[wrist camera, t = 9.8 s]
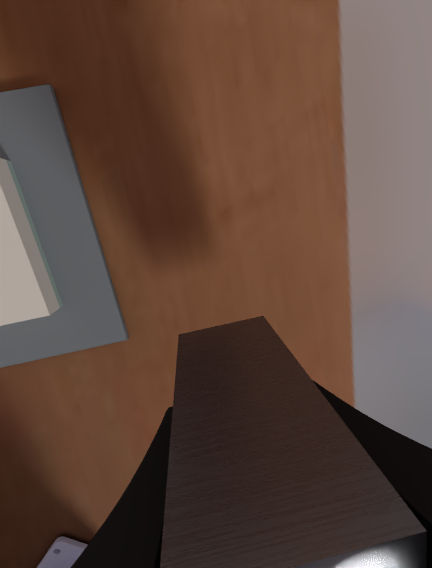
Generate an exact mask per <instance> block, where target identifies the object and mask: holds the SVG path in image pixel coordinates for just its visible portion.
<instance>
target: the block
mask: <svg viewBox="0 0 432 568" xmlns="http://www.w3.org/2000/svg"><path fill="white" fill-rule="evenodd" d="M426 559H427V531H426V530H425V528H424V527H423V526H422V524H421V523H420V522H419V520H418V519H417V518H416V517H415V515H414V514H413V513H412V511H411V510H410V509H409V507H408V506H407V505H406V503H405V502H404V501H403V499H402V498H401V497H400V495H399V494H398V493H397V491H396V490H395V489H394V488H393V486H392V485H391V484H390V482H389V481H388V480H387V478H386V477H385V476H384V474H383V473H382V472H381V470H380V469H379V468H378V466H377V465H376V464H375V462H374V461H373V460H372V459H371V457H370V456H369V455H368V453H367V452H366V451H365V449H364V448H363V447H362V445H361V444H360V443H359V441H358V440H357V439H356V437H355V436H354V435H353V434H352V432H351V431H350V430H349V428H348V427H347V426H346V424H345V423H344V422H343V420H342V419H341V418H340V416H339V415H338V414H337V412H336V411H335V410H334V408H333V407H332V406H331V405H330V403H329V402H328V401H327V399H326V398H325V397H324V395H323V394H322V393H321V391H320V390H319V389H318V387H317V386H316V385H315V383H314V382H313V381H312V379H311V378H310V377H309V376H308V374H307V373H306V372H305V370H304V369H303V368H302V366H301V365H300V364H299V362H298V361H297V360H296V358H295V357H294V356H293V354H292V353H291V352H290V351H289V349H288V348H287V347H286V345H285V344H284V343H283V341H282V340H281V339H280V337H279V336H278V335H277V333H276V332H275V331H274V329H273V328H272V327H271V325H270V324H269V323H268V322H267V320H266V319H265V318H264V316H260V317H256V318H251V319H247V320H242V321H238V322H233V323H229V324H224V325H220V326H215V327H211V328H206V329H202V330H197V331H192V332H188V333H183V334H179V338H178V351H177V363H176V375H175V388H174V400H173V412H172V425H171V437H170V450H169V462H168V474H167V487H166V499H165V511H164V524H163V536H162V548H161V561H160V568H426Z"/></svg>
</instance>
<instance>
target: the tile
mask: <svg viewBox="0 0 432 568" xmlns="http://www.w3.org/2000/svg"><path fill="white" fill-rule="evenodd" d="M62 306H63V304H62V301H61V298H60V296H59V293H58V290H57V287H56V284H55V282H54V279H53V276H52V273H51V271H50V268H49V265H48V262H47V260H46V257H45V254H44V251H43V249H42V246H41V243H40V240H39V238H38V235H37V232H36V229H35V226H34V224H33V221H32V218H31V215H30V213H29V210H28V207H27V204H26V202H25V199H24V196H23V193H22V191H21V188H20V185H19V182H18V180H17V177H16V174H15V171H14V168H13V166H12V163H11V161H9V160H5V159H2V158H0V326H2V325H7V324H11V323H16V322H21V321H26V320H30V319H35V318H40V317H44V316H49V315H51V314H52V313H54V312H55V311H57V310H58V309H59V308H61V307H62Z"/></svg>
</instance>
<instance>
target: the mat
mask: <svg viewBox="0 0 432 568" xmlns="http://www.w3.org/2000/svg"><path fill="white" fill-rule="evenodd" d="M0 158H2V159H5V160H9V161H11V163H12V166H13V168H14V171H15V174H16V177H17V180H18V182H19V185H20V188H21V191H22V193H23V196H24V199H25V202H26V204H27V207H28V210H29V213H30V215H31V218H32V221H33V224H34V226H35V229H36V232H37V235H38V238H39V240H40V243H41V246H42V249H43V251H44V254H45V257H46V260H47V262H48V265H49V268H50V271H51V273H52V276H53V279H54V282H55V284H56V287H57V290H58V293H59V296H60V298H61V301H62V304H63V306H62V307H61V308H59V309H58V310H57V311H55V312H54V313H52V314H51V315H49V316H44V317H40V318H35V319H30V320H26V321H21V322H16V323H11V324H7V325H2V326H0V368H1V367H6V366H10V365H15V364H19V363H24V362H28V361H33V360H38V359H42V358H47V357H51V356H56V355H60V354H65V353H69V352H74V351H79V350H83V349H88V348H92V347H97V346H101V345H106V344H110V343H115V342H119V341H124V340H128V338H129V336H128V332H127V329H126V326H125V323H124V319H123V316H122V313H121V309H120V306H119V303H118V300H117V296H116V293H115V290H114V286H113V283H112V280H111V276H110V273H109V270H108V267H107V263H106V260H105V257H104V253H103V250H102V247H101V244H100V240H99V237H98V234H97V230H96V227H95V224H94V221H93V217H92V214H91V211H90V207H89V204H88V201H87V197H86V194H85V191H84V188H83V184H82V181H81V178H80V174H79V171H78V168H77V165H76V161H75V158H74V155H73V151H72V148H71V145H70V142H69V138H68V135H67V132H66V128H65V125H64V122H63V118H62V115H61V112H60V109H59V105H58V102H57V99H56V95H55V92H54V89H53V87H52V86H51V85H50V84H47V85H41V86H35V87H29V88H23V89H17V90H11V91H6V92H0Z"/></svg>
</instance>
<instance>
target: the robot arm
mask: <svg viewBox="0 0 432 568" xmlns="http://www.w3.org/2000/svg"><path fill="white" fill-rule="evenodd" d="M312 381H313V380H312ZM313 382H314V383H315V385H316V386H317V387H318V389H319V390H320V391H321V393H322V394H323V395H324V397H325V398H326V399H327V401H328V402H329V403H330V405H331V406H332V407H333V408H334V410H335V411H336V412H337V414H338V415H339V416H340V418H341V419H342V420H343V422H344V423H345V424H346V426H347V427H348V428H349V430H350V431H351V432H352V434H353V435H354V436H355V437H356V439H357V440H358V441H359V443H360V444H361V445H362V447H363V448H364V449H365V451H366V452H367V453H368V455H369V456H370V457H371V459H372V460H373V461H374V462H375V464H376V465H377V466H378V468H379V469H380V470H381V472H382V473H383V474H384V476H385V477H386V478H387V480H388V481H389V482H390V484H391V485H392V486H393V488H394V489H395V490H396V491H397V493H398V494H399V495H400V497H401V498H402V499H403V501H404V502H405V503H406V505H407V506H408V507H409V509H410V510H411V511H412V513H413V514H414V515H415V517H416V518H417V519H418V520H419V522H420V523H421V524H422V526H423V527H424V528H425V530H426V531H427V559H426V568H432V449H431V448H429V447H427V446H424V445H422V444H420V443H418V442H416V441H414V440H412V439H409V438H408V437H406V436H404V435H401V434H400V433H398V432H396V431H394V430H392V429H390V428H388V427H386V426H384V425H382V424H381V423H379V422H377V421H375V420H374V419H372V418H370V417H368V416H367V415H365V414H363V413H362V412H360V411H358V410H357V409H355V408H354V407H352V406H350V405H349V404H347V403H346V402H344V401H343V400H341V399H340V398H338V397H336V396H335V395H334V394H332V393H331V392H329V391H328V390H326V389H325V388H323V387H322V386H320V385H319V384H318V383H316V382H315V381H313ZM172 412H173V407H169V408H168V409H167V411H166V413H165V416H164V418H163V420H162V422H161V425H160V427H159V429H158V431H157V433H156V435H155V437H154V439H153V441H152V443H151V445H150V447H149V449H148V451H147V453H146V455H145V457H144V459H143V461H142V463H141V464H140V466H139V468H138V470H137V471H136V473H135V475H134V476H133V478H132V480H131V482H130V483H129V485H128V487H127V488H126V490H125V492H124V493H123V495H122V496H121V498H120V500H119V501H118V503H117V504H116V506H115V507H114V509H113V510H112V512H111V513H110V515H109V516H108V518H107V519H106V521H105V522H104V523H103V525H102V526H101V528H100V529H99V530H98V532H97V533H96V534H95V536H94V537H93V539H92V540H91V541H90V543H89V544H85V543H82V542H79V541H76V540H73V539H70V538H67V537H63V536H62V537H58V538H57V539H56V540H55V541H54V543H53V544H52V546H51V547H50V549H49V550H48V551H47V553H46V554H45V556H44V557H43V559H42V560H41V562H40V563H39V564H38V566H37V567H36V568H160V561H161V548H162V536H163V524H164V511H165V499H166V487H167V474H168V462H169V450H170V437H171V425H172Z"/></svg>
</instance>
